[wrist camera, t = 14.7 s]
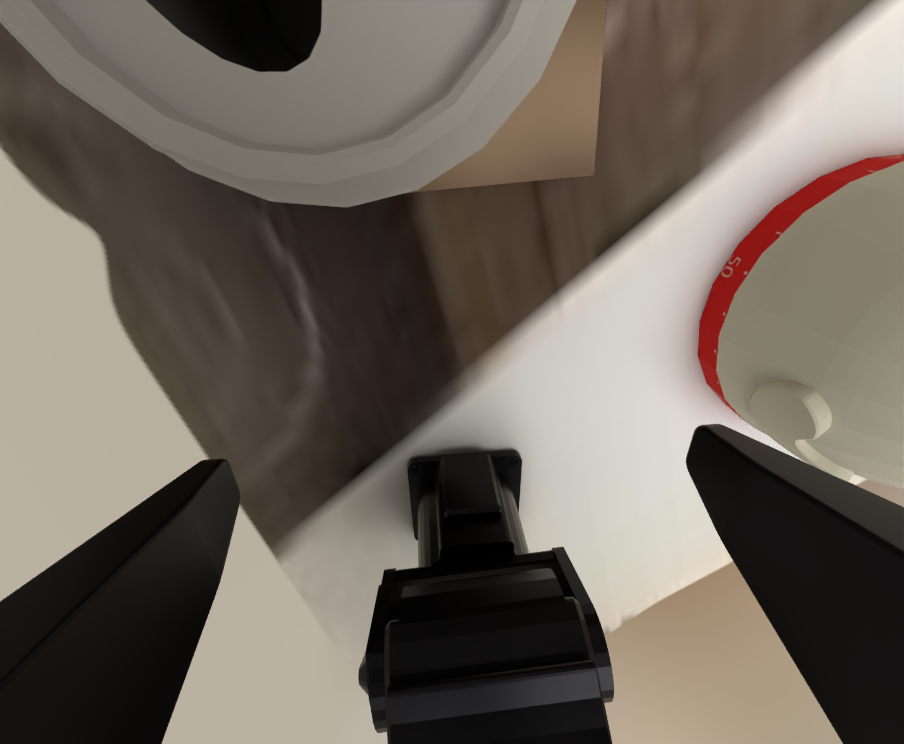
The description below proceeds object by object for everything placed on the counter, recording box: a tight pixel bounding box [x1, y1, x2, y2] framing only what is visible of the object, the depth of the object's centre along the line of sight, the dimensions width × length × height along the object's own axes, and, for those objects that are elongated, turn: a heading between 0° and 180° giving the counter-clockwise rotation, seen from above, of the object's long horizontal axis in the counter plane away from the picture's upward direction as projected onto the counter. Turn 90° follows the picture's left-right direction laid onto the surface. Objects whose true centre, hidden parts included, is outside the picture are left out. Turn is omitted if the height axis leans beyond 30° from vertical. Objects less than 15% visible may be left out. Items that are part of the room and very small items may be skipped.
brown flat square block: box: [407, 0, 607, 193], centre depth 15 cm, size 11×11×2 cm
